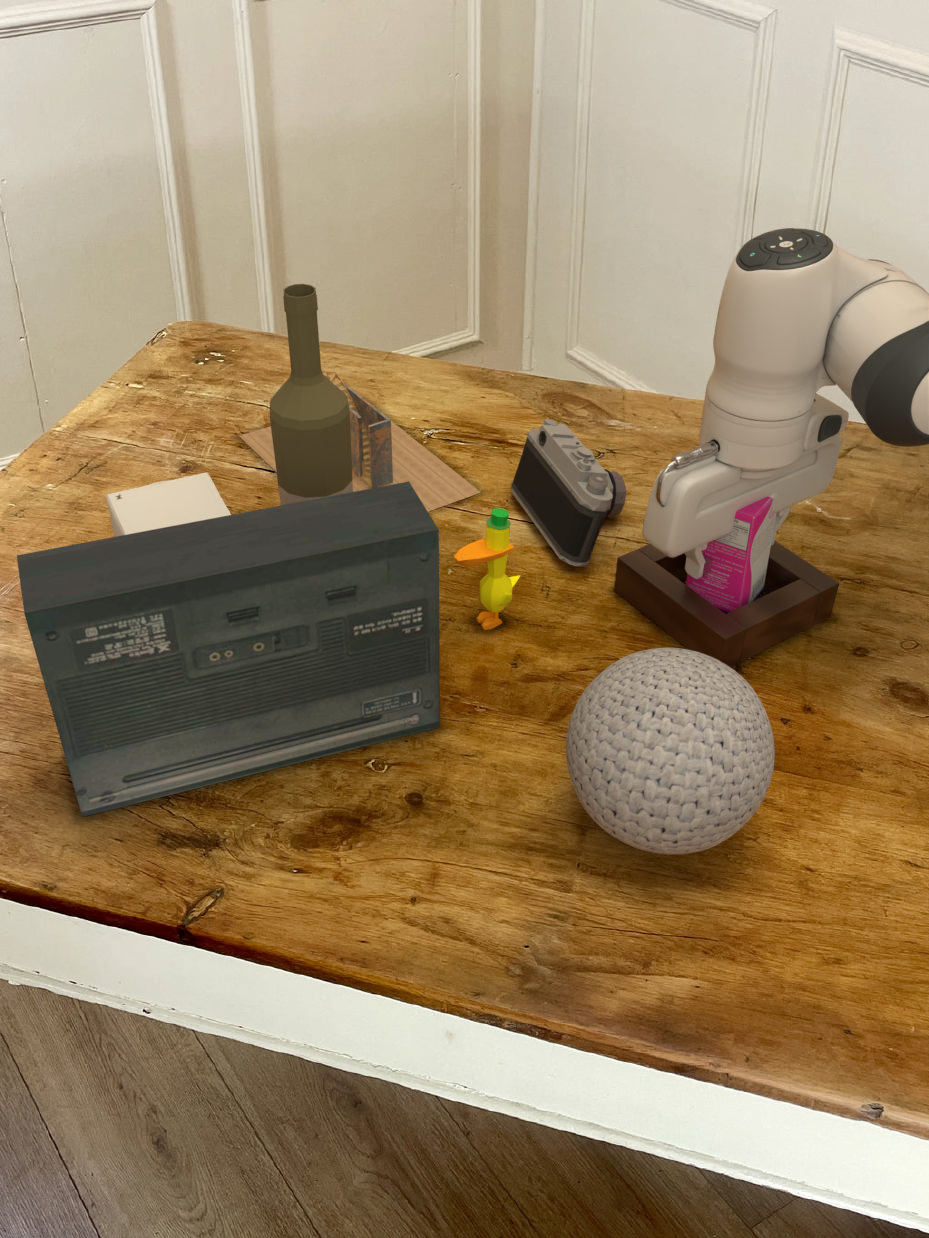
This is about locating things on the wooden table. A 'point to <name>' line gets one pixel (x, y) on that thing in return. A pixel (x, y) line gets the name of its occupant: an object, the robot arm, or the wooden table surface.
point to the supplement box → (739, 558)
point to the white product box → (165, 504)
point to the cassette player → (237, 642)
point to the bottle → (309, 413)
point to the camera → (566, 491)
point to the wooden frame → (702, 627)
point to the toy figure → (492, 567)
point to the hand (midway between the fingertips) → (729, 558)
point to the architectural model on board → (383, 455)
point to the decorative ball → (670, 751)
